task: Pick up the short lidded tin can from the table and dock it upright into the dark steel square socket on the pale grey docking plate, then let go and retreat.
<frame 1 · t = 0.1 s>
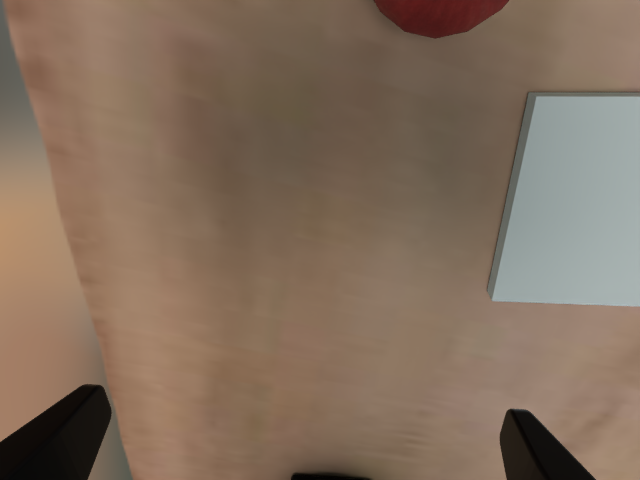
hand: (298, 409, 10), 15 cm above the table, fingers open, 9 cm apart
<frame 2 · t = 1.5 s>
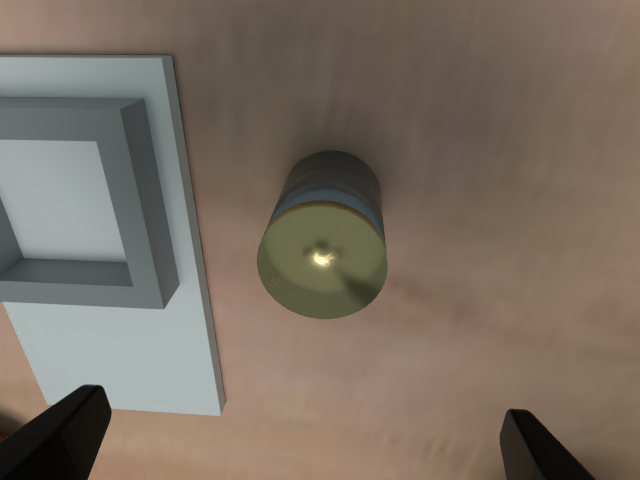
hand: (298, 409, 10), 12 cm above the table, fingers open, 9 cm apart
lidded tin can: (331, 197, 20), on the table
dock: (101, 262, 23), on the table
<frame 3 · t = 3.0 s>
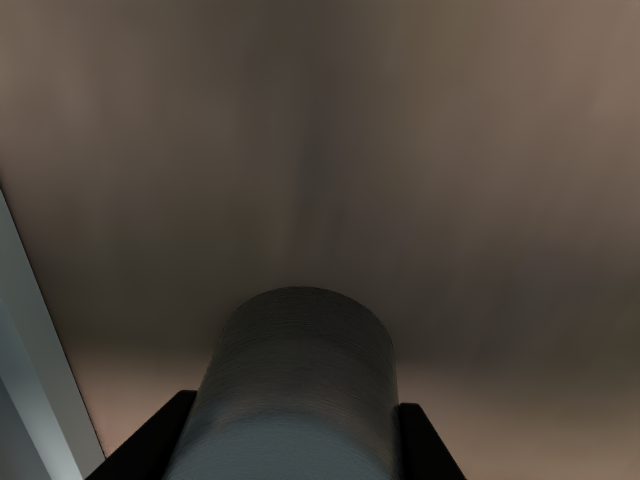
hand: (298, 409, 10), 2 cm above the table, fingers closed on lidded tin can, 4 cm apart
lidded tin can: (306, 358, 11), on the table, touching gripper
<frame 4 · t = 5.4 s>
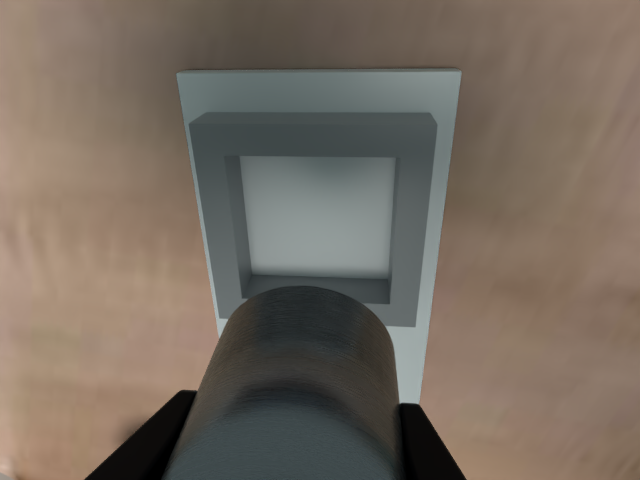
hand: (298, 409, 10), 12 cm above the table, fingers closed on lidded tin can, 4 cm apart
lidded tin can: (306, 357, 11), point 10 cm above the table, touching gripper
dock: (321, 277, 22), on the table
when the fingers open (4 cm above the table, at t = 7.6 s): lidded tin can drops 1 cm, resting on dock.
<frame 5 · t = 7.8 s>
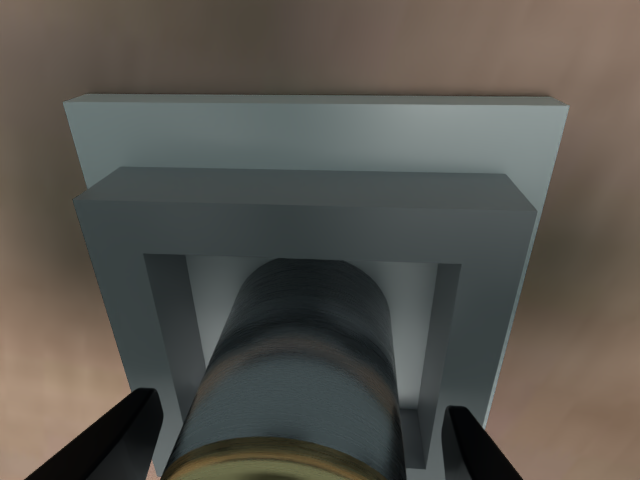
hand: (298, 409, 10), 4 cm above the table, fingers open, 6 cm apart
lidded tin can: (311, 320, 12), point 1 cm above the table, touching dock
dock: (315, 394, 15), on the table
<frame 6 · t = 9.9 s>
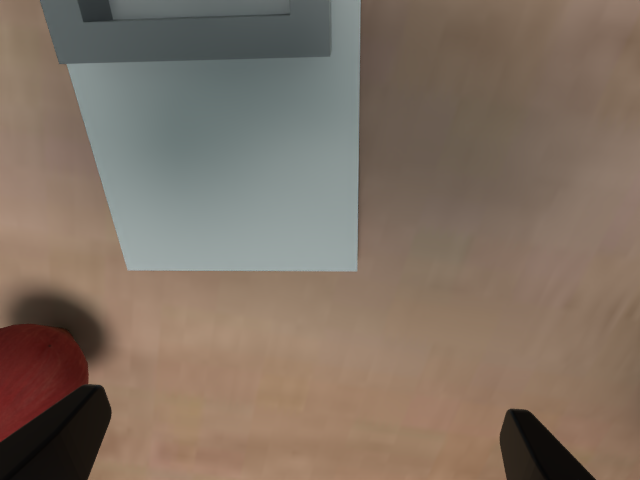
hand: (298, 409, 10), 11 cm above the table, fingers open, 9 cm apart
onion: (65, 331, 25), on the table
dock: (214, 36, 16), on the table
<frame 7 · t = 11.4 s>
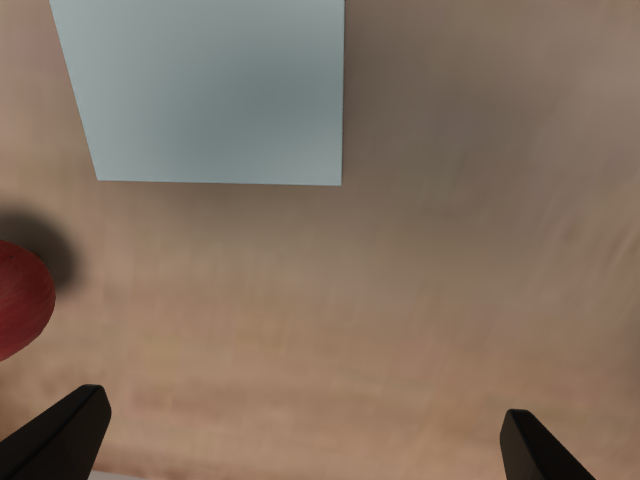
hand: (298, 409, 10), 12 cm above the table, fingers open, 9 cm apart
onion: (35, 257, 23), on the table
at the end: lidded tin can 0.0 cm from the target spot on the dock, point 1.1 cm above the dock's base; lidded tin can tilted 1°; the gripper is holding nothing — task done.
